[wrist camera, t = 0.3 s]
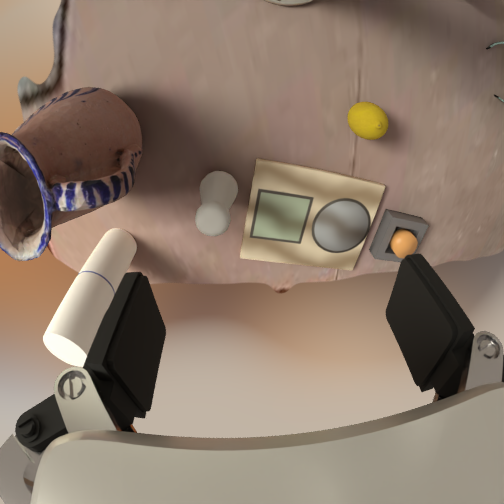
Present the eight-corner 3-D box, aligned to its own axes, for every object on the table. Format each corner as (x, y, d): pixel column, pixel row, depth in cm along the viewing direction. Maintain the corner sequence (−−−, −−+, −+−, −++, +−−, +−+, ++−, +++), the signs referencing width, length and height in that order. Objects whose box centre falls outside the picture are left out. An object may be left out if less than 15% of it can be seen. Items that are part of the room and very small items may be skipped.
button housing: (385, 209, 47) (392, 216, 44) (421, 217, 48) (428, 225, 45) (369, 249, 52) (374, 258, 49) (404, 254, 53) (410, 263, 50)
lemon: (370, 97, 36) (394, 103, 29) (375, 130, 39) (398, 143, 32) (337, 101, 36) (357, 107, 30) (343, 135, 39) (363, 148, 33)
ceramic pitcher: (55, 101, 33) (-59, 149, 12) (169, 67, 33) (78, 63, 12) (76, 193, 43) (-7, 282, 22) (184, 175, 43) (132, 279, 22)
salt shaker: (230, 161, 42) (225, 194, 31) (243, 192, 45) (244, 235, 34) (195, 174, 43) (179, 212, 32) (210, 205, 46) (200, 250, 35)
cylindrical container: (144, 250, 51) (98, 362, 30) (119, 264, 52) (72, 369, 32) (120, 221, 47) (57, 327, 26) (96, 238, 49) (35, 339, 28)
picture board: (256, 158, 42) (256, 160, 40) (382, 183, 44) (385, 186, 43) (239, 254, 52) (239, 258, 51) (350, 266, 54) (352, 270, 53)
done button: (395, 226, 46) (401, 233, 44) (415, 230, 47) (421, 237, 45) (385, 249, 49) (390, 256, 47) (405, 252, 50) (410, 259, 48)
